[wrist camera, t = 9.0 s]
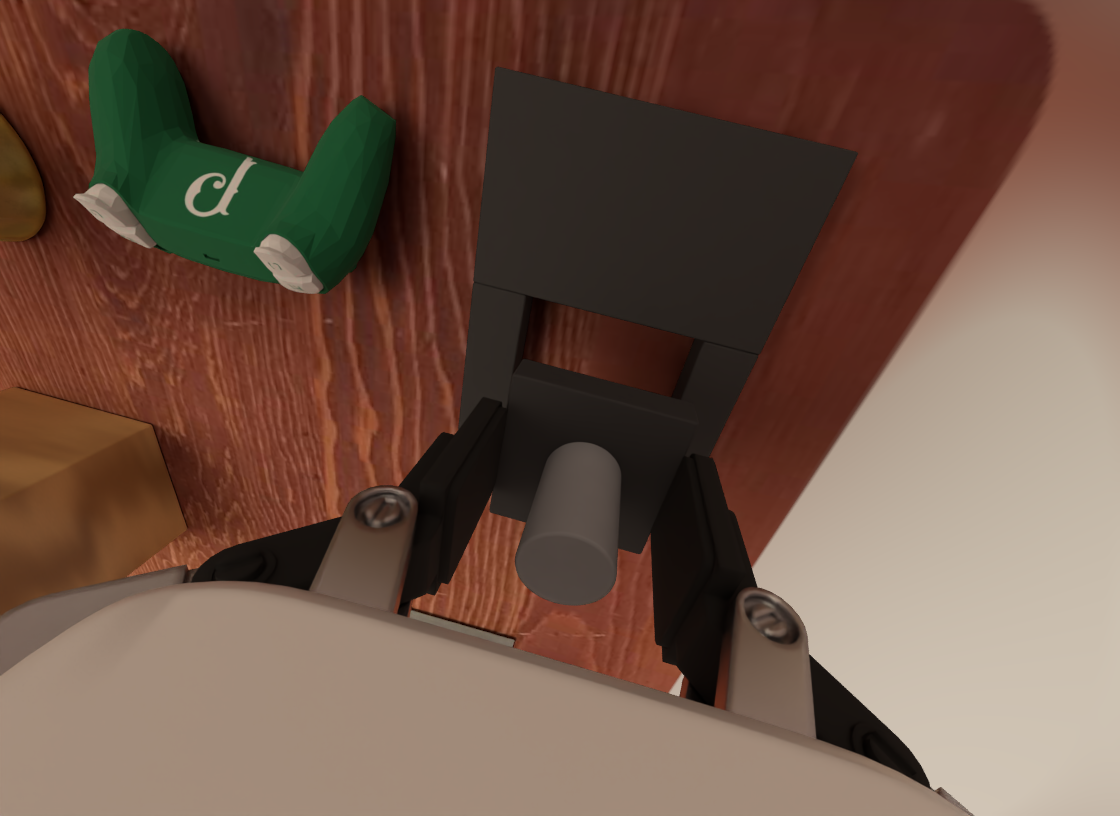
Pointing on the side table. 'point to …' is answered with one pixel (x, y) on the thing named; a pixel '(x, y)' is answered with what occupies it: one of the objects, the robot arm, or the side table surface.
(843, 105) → the side table surface
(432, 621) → the grey flat square slab
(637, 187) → the base pad
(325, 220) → the gaming controller
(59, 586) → the stand
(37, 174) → the vase
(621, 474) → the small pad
